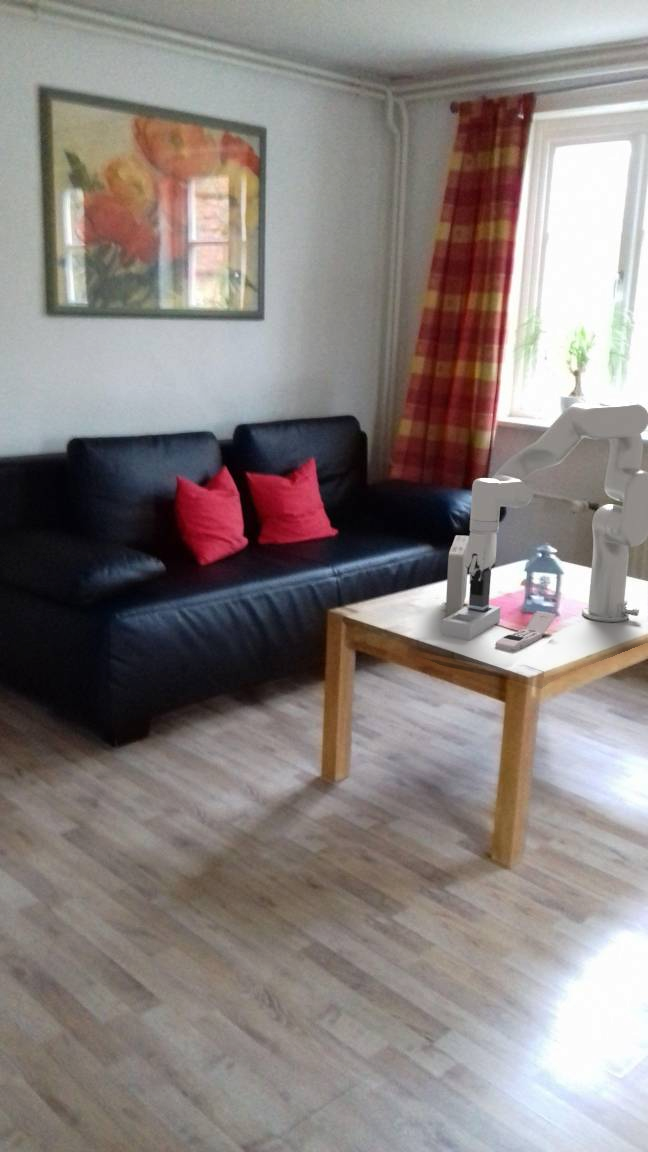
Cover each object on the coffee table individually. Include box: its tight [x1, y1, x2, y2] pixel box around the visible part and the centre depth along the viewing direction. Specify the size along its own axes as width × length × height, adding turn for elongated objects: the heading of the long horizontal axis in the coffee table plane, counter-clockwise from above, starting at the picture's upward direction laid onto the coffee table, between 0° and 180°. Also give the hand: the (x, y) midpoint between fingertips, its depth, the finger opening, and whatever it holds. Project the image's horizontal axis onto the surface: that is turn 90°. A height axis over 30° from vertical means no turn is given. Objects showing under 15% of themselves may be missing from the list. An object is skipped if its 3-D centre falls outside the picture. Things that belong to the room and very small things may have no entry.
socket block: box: [440, 604, 502, 641], centre depth 271 cm, size 8×20×5 cm, turn 148°
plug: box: [468, 567, 492, 613], centre depth 274 cm, size 5×4×12 cm
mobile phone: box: [495, 610, 557, 652], centre depth 262 cm, size 6×6×25 cm
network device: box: [441, 535, 469, 618], centre depth 286 cm, size 26×9×20 cm, turn 168°
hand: (479, 592), depth 274 cm, fingers closed on plug, 4 cm apart
